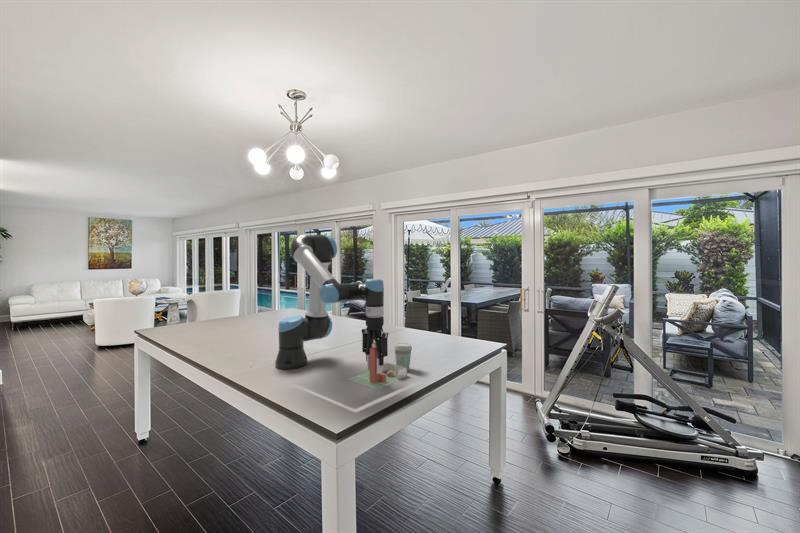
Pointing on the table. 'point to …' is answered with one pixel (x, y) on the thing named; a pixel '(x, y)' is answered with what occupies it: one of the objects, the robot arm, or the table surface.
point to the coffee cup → (403, 354)
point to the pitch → (365, 380)
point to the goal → (395, 369)
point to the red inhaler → (375, 366)
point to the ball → (390, 373)
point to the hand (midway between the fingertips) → (374, 371)
